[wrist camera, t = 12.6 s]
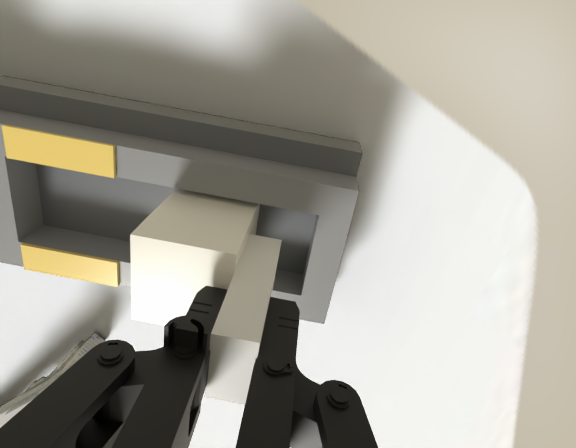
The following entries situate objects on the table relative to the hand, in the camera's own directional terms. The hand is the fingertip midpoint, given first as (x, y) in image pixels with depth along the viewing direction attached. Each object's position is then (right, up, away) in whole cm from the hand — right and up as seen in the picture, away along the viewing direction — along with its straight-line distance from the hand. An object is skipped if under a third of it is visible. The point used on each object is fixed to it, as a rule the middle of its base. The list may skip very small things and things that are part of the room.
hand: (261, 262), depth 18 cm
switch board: (-13, +5, +5) cm, 14 cm away
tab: (-2, +2, +3) cm, 4 cm away
